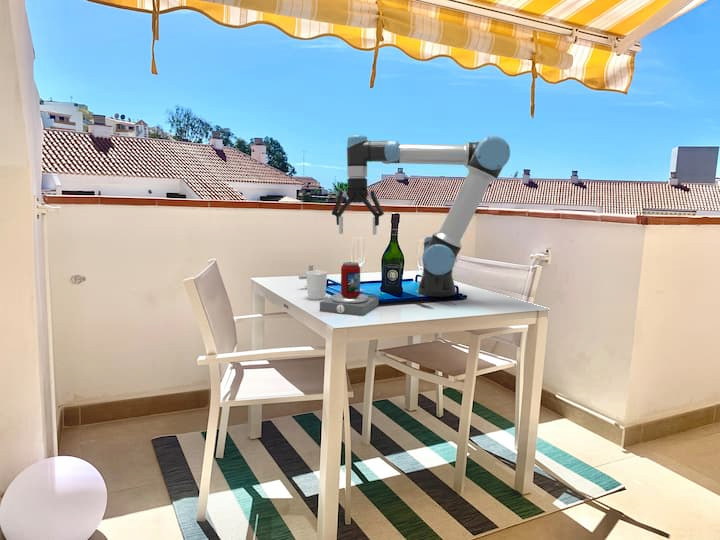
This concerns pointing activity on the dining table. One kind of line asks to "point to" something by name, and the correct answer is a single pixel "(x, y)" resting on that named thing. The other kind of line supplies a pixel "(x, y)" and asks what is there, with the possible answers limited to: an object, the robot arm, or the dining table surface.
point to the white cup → (316, 284)
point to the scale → (349, 306)
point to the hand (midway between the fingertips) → (357, 234)
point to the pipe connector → (305, 274)
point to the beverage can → (350, 280)
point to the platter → (349, 299)
